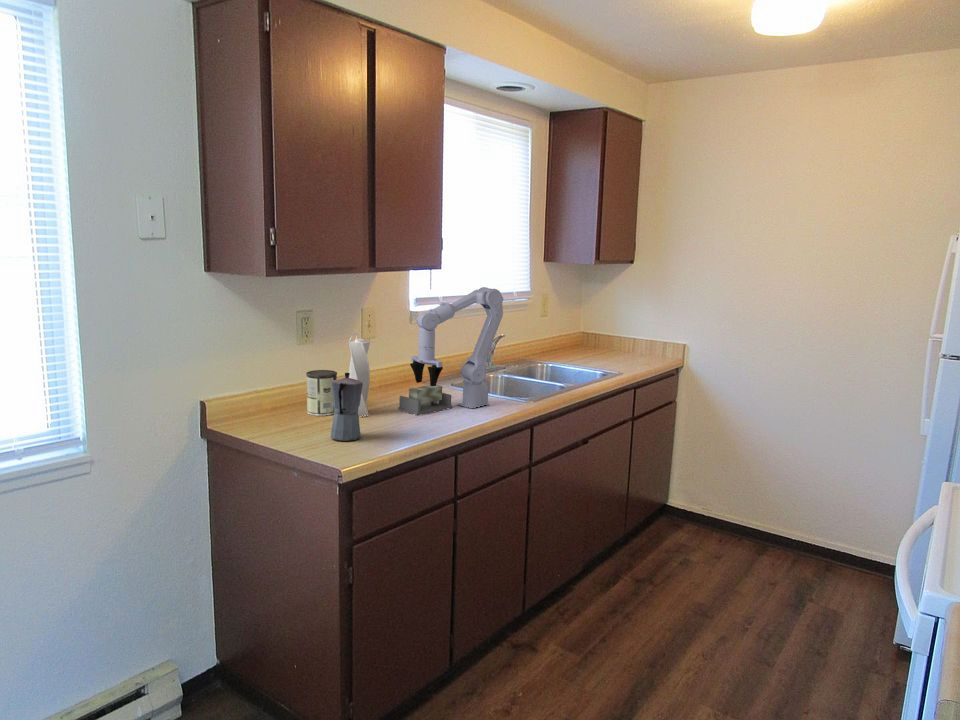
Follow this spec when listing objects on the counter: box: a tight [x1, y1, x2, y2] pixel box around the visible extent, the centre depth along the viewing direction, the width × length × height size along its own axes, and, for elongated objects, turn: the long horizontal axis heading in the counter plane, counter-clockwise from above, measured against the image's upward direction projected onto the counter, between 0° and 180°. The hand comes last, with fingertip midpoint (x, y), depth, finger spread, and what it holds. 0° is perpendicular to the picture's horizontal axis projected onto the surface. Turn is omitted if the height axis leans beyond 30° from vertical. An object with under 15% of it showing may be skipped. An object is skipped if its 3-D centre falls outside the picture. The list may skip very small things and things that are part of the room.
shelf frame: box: [397, 392, 453, 416], centre depth 240 cm, size 17×10×5 cm, turn 137°
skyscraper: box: [348, 333, 371, 418], centre depth 227 cm, size 8×8×28 cm
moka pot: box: [329, 372, 363, 442], centre depth 199 cm, size 10×15×20 cm, turn 2°
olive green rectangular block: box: [408, 384, 443, 404], centre depth 239 cm, size 12×4×5 cm, turn 137°
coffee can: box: [305, 369, 338, 417], centre depth 229 cm, size 10×10×14 cm
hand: (426, 384), depth 239 cm, fingers open, 7 cm apart
